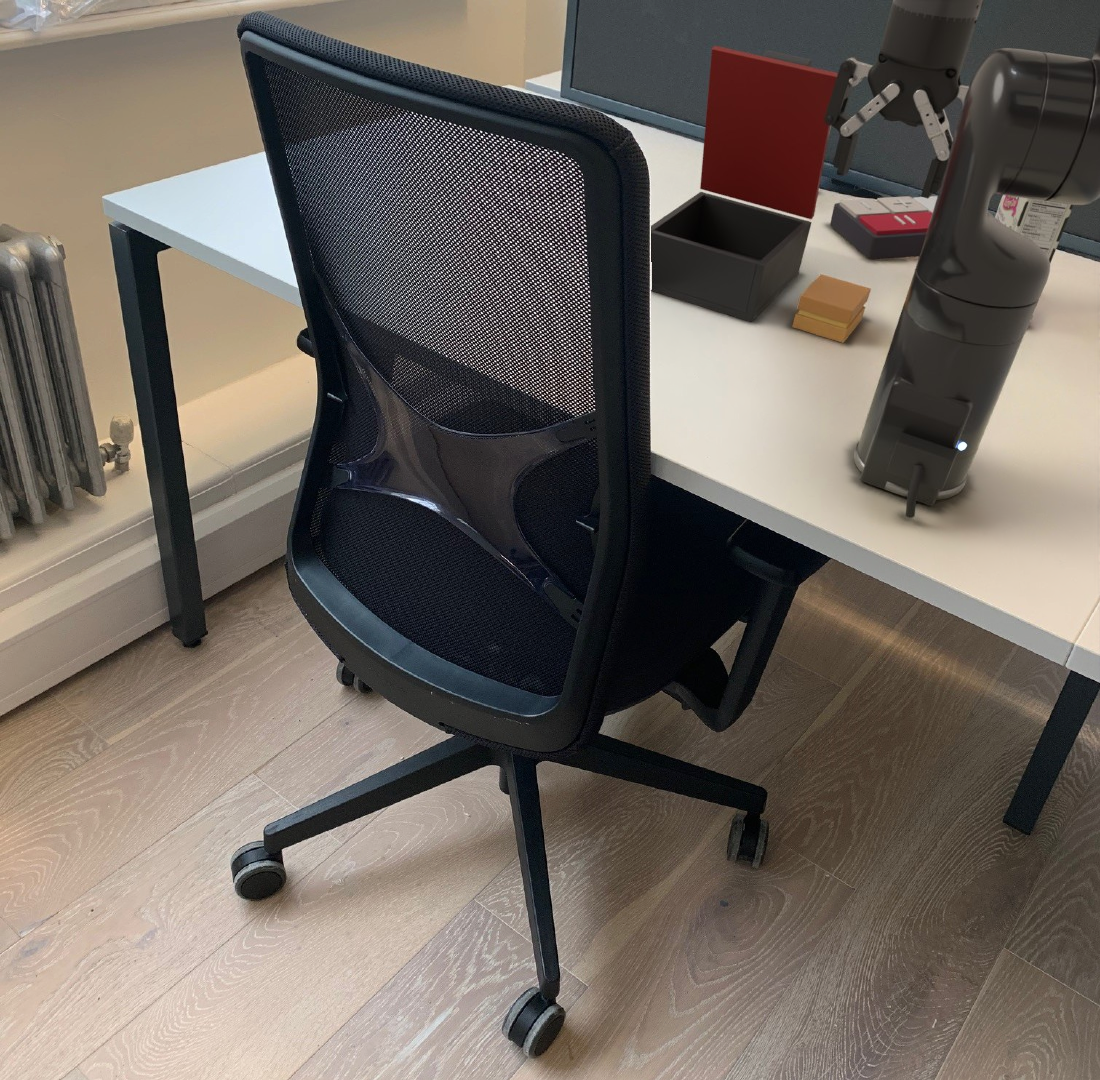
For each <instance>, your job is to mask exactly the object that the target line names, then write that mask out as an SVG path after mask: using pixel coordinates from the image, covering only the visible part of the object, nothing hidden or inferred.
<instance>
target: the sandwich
mask: <svg viewBox="0 0 1100 1080" xmlns="http://www.w3.org/2000/svg"><path fill="white" fill-rule="evenodd" d="M871 290H872V288H870V287H868V286H867V287H866V286H863V285H860V284H856V283H853V282H849V281H847V280H843V279H839V278H837V277H834V276H833V277H832V276H829V275H825V274H822V273H820V274H819V275H818V276H817V277H816V279H814V280H813V282H812V283H811V284H810V285H809V286H808V287H807V288H805V290H804V291H803V293H801V295H799V299H798V303H797V307H796V309H797V312H796V313H795V314H794V318H793V323H792V328H794V329H797V330H800V331H804V332H806V333H809V334H813V335H816V336H819V337H821V338H822V337H823V338H825V339H829V340H833V341H835V342H839V343H842V344H844V343H845V342H846V340H847V339H848V338H849V336H851V334H852V332H854V330H855V329H856V327H857V326H858V325H859V324H860V322H861V321H862V320H863V318H864V317H863V316H864V313H865V310H866V306H865V305H866V304H867V302H868V301H869V297H870V294H871Z"/></svg>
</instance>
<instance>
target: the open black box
mask: <svg viewBox="0 0 1100 1080" xmlns="http://www.w3.org/2000/svg"><path fill="white" fill-rule="evenodd" d="M650 226H651V262H652V292H654V293H658V294H662V295H664V296H666V297H667V296H668V297H671V298H674V299H677V300H680V301H683V302H687V303H690V304H693V305H696V306H699V307H702V308H706V309H709V310H712V311H715V312H717V313H721V314H724V315H728V316H731V317H734V318H737V319H741V320H744V321H747V322H750V323H753V321H755V319H756V318H757V317H758V316H759V315H760V314H761V313H762V312H763V311H764V310H765V309H766V308H767V307H768V306H769V305H770V304H771V303H772V302H774V300H775V299H776V298H777V297H778V296H779V295H780V294H781V293H782V292H783V291H784V290H785V289H786V288H787V287H788V286H789V285H790V284H791V283H792V282H793V281H794V280H795V278H796V277H798V276H799V274H800V270H801V266H802V262H803V258H804V255H805V250H806V247H807V242H808V238H809V235H810V231H811V227H812V221H809V220H805V219H802V218H798V217H794V216H791V215H788V214H784V213H780V212H776V211H772V210H769V209H765V208H761V207H758V206H755V205H751V204H748V203H744V202H740V201H736V200H733V199H730V198H725V197H722V196H718V195H715V194H711V193H707V192H703V191H699V192H698V193H697V194H695V195H694V196H692V197H690V198H689V199H688V200H686V201H684V202H683V203H682V204H681V205H679V206H677V207H676V208H674V209H673V210H672V211H670V212H669V213H668V214H666V215H665V216H663V217H662V218H660V219H658V220H657V221H656V222H655V223H653V224H652V225H650Z"/></svg>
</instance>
